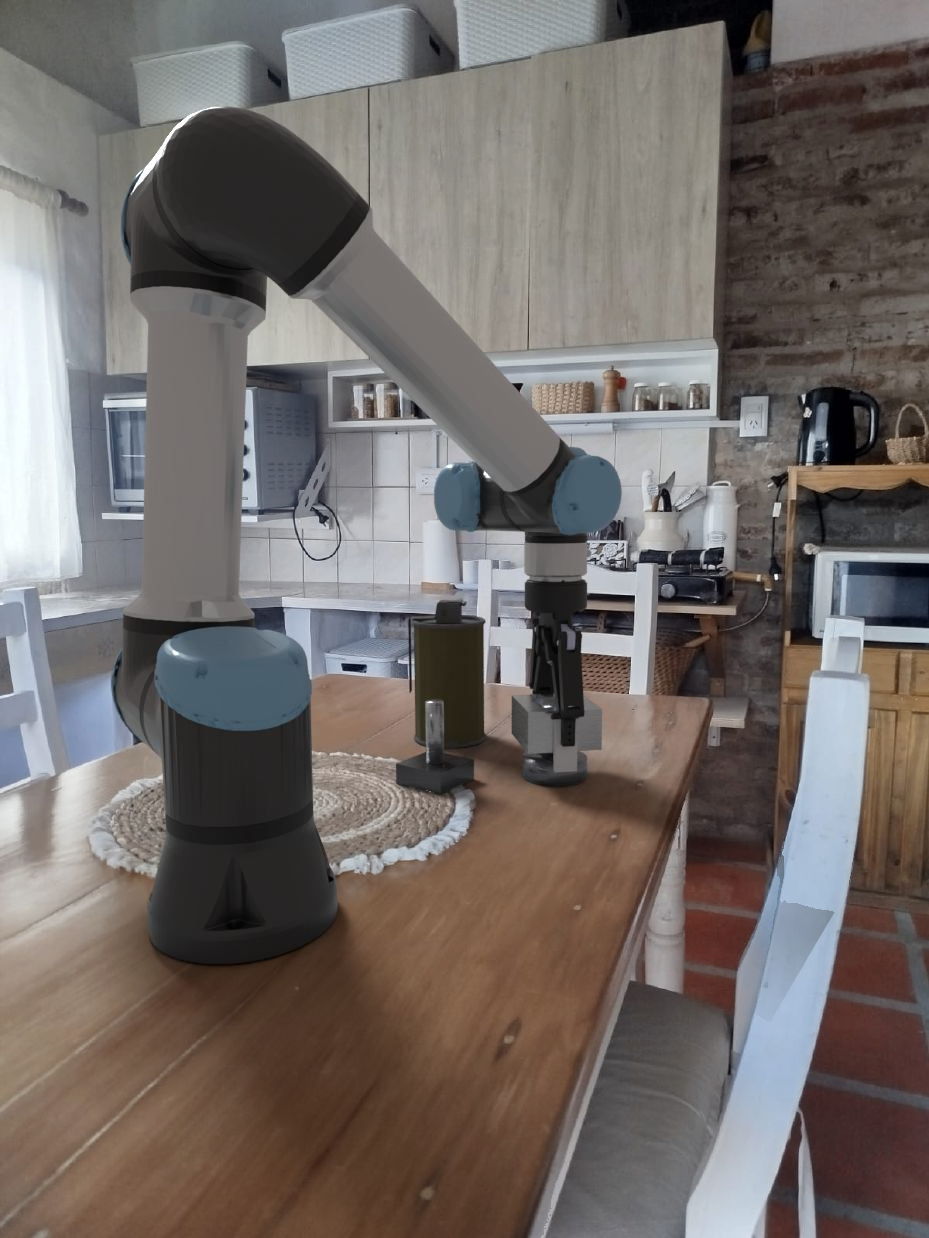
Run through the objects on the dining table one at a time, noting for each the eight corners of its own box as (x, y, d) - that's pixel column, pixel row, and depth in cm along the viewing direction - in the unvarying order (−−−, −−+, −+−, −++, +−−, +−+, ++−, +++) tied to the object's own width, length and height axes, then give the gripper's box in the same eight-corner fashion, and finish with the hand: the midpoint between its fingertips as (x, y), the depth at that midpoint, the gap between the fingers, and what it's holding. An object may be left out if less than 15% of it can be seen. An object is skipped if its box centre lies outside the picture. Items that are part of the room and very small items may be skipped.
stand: (440, 794, 99) (439, 710, 97) (396, 783, 103) (394, 703, 101) (474, 778, 104) (473, 699, 103) (430, 768, 108) (429, 692, 107)
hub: (567, 790, 99) (567, 716, 98) (510, 778, 104) (510, 707, 103) (598, 773, 106) (599, 703, 105) (543, 762, 111) (543, 695, 109)
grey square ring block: (528, 753, 99) (528, 712, 99) (511, 733, 108) (511, 695, 107) (601, 749, 101) (602, 708, 100) (579, 729, 109) (579, 692, 109)
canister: (488, 729, 127) (488, 597, 124) (483, 749, 116) (482, 605, 114) (416, 728, 128) (414, 596, 125) (405, 747, 117) (402, 605, 115)
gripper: (616, 585, 92) (612, 785, 95) (561, 570, 113) (559, 733, 116) (549, 587, 90) (547, 789, 93) (506, 571, 112) (506, 736, 115)
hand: (554, 758), depth 105 cm, fingers closed on grey square ring block, 9 cm apart
